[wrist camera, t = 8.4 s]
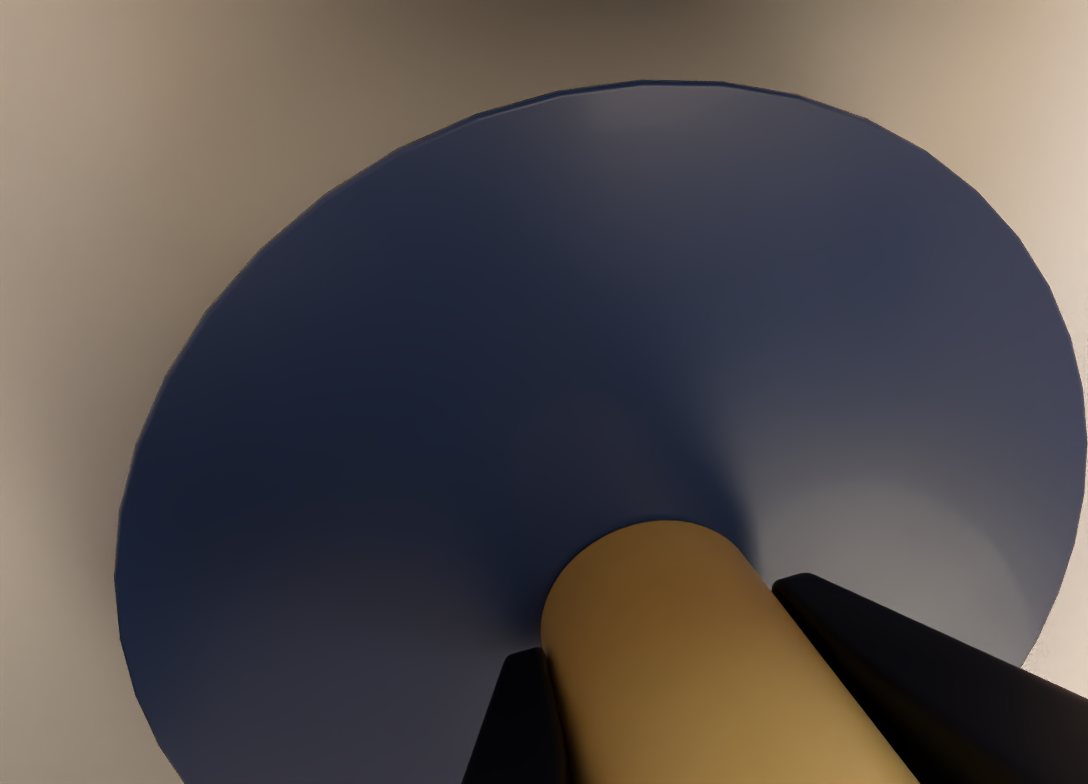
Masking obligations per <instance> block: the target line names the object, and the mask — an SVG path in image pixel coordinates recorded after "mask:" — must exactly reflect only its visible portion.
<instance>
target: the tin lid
mask: <svg viewBox="0 0 1088 784" xmlns="http://www.w3.org/2000/svg"><path fill="white" fill-rule="evenodd" d="M1086 455H1087V432H1086V420H1085V408H1084V396H1083V388H1082V383H1081V379H1080V375H1079V371H1078V367H1077V362H1076V358H1075V354H1074V350H1073V345H1072V341H1071V337H1070V335H1069V332H1068V330H1067V328H1066V325H1065V323H1064V320H1063V318H1062V315H1061V313H1060V311H1059V308H1058V306H1057V303H1056V301H1055V299H1054V296H1053V294H1052V291H1051V289H1050V287H1049V285H1048V283H1047V282H1046V280H1045V278H1044V277H1043V275H1042V274H1041V272H1040V270H1039V269H1038V267H1037V266H1036V264H1035V262H1034V261H1033V259H1032V258H1031V256H1030V255H1029V253H1028V251H1027V250H1026V248H1025V247H1024V245H1023V243H1022V242H1021V240H1020V239H1019V237H1018V236H1017V235H1016V234H1015V233H1014V231H1013V230H1012V229H1011V228H1010V227H1009V226H1008V225H1007V224H1006V223H1005V221H1004V220H1003V219H1002V218H1001V217H1000V216H999V215H998V214H997V213H996V211H995V210H994V209H993V208H992V207H991V206H990V205H989V204H988V203H987V201H986V200H985V199H984V198H983V197H982V196H981V195H980V194H979V192H977V191H976V190H975V189H974V188H972V187H971V186H970V185H969V184H967V183H966V182H965V181H964V180H962V179H961V178H960V177H959V176H957V175H956V174H955V173H953V172H952V171H951V170H950V169H948V168H947V167H946V166H945V165H943V164H942V163H941V162H939V161H938V160H937V159H936V158H934V157H933V156H932V155H931V154H929V153H928V152H927V151H925V150H924V149H922V148H920V147H918V146H916V145H914V144H913V143H911V142H909V141H907V140H905V139H903V138H902V137H900V136H898V135H896V134H894V133H892V132H891V131H889V130H887V129H885V128H883V127H881V126H879V125H878V124H876V123H874V122H872V121H870V120H868V119H867V118H864V117H861V116H858V115H855V114H853V113H850V112H847V111H844V110H841V109H838V108H835V107H832V106H829V105H827V104H824V103H821V102H818V101H815V100H812V99H809V98H806V97H803V96H800V95H798V94H792V93H786V92H781V91H775V90H769V89H763V88H758V87H752V86H746V85H740V84H735V83H729V82H723V81H681V80H636V81H628V82H620V83H613V84H605V85H597V86H590V87H582V88H574V89H567V90H559V91H555V92H552V93H548V94H545V95H541V96H538V97H534V98H530V99H527V100H523V101H520V102H516V103H513V104H509V105H506V106H502V107H499V108H495V109H491V110H488V111H484V112H481V113H477V114H475V115H472V116H470V117H468V118H466V119H463V120H461V121H459V122H457V123H454V124H452V125H450V126H448V127H445V128H443V129H441V130H439V131H436V132H434V133H432V134H430V135H427V136H425V137H423V138H421V139H418V140H416V141H414V142H412V143H409V144H407V145H405V146H403V147H400V148H398V149H396V150H395V151H393V152H391V153H390V154H388V155H387V156H385V157H383V158H382V159H380V160H379V161H377V162H375V163H374V164H372V165H371V166H369V167H367V168H366V169H364V170H363V171H361V172H359V173H358V174H356V175H355V176H353V177H352V178H350V179H348V180H347V181H345V182H344V183H342V184H340V185H339V186H337V187H336V188H334V189H332V190H331V191H329V192H328V193H326V194H324V195H323V196H322V197H321V198H320V199H318V200H317V201H316V202H315V203H314V204H313V205H311V206H310V207H309V208H308V209H307V210H306V211H304V212H303V213H302V214H301V215H300V216H298V217H297V218H296V219H295V220H294V221H293V222H291V223H290V224H289V225H288V226H287V227H286V228H284V229H283V230H282V231H281V232H280V233H278V234H277V235H276V236H275V237H274V238H273V239H271V240H270V241H269V242H268V243H267V244H266V245H264V246H263V247H262V248H261V249H260V250H259V251H258V252H257V253H256V254H255V255H254V257H253V258H252V259H251V260H250V261H249V262H248V264H247V265H246V266H245V267H244V268H243V269H242V270H241V272H240V273H239V274H238V275H237V276H236V277H235V278H234V280H233V281H232V282H231V283H230V284H229V285H228V286H227V288H226V289H225V290H224V291H223V292H222V293H221V294H220V296H219V297H218V298H217V299H216V300H215V301H214V302H213V304H212V305H211V306H210V307H209V308H208V309H207V310H206V312H205V314H204V315H203V317H202V318H201V320H200V321H199V323H198V325H197V326H196V328H195V329H194V331H193V332H192V334H191V336H190V337H189V339H188V340H187V342H186V343H185V345H184V347H183V348H182V350H181V351H180V353H179V354H178V356H177V358H176V359H175V361H174V362H173V364H172V365H171V367H170V369H169V370H168V372H167V373H166V375H165V377H164V379H163V381H162V384H161V386H160V388H159V391H158V393H157V395H156V398H155V400H154V402H153V405H152V407H151V409H150V411H149V414H148V416H147V418H146V421H145V423H144V425H143V428H142V430H141V432H140V435H139V437H138V439H137V442H136V444H135V448H134V452H133V456H132V460H131V464H130V468H129V472H128V476H127V480H126V484H125V488H124V492H123V496H122V500H121V504H120V508H119V518H118V531H117V544H116V557H115V570H114V582H115V592H116V603H117V613H118V624H119V634H120V641H121V645H122V648H123V652H124V656H125V659H126V663H127V667H128V670H129V674H130V678H131V681H132V685H133V689H134V692H135V696H136V698H137V700H138V702H139V704H140V706H141V709H142V711H143V713H144V715H145V717H146V719H147V721H148V724H149V726H150V728H151V730H152V732H153V734H154V737H155V739H156V741H157V743H158V745H159V747H160V748H161V750H162V751H163V753H164V754H165V756H166V757H167V759H168V760H169V762H170V763H171V765H172V766H173V767H174V769H175V770H176V772H177V773H178V775H179V776H180V778H181V779H182V781H183V782H184V784H461V783H462V780H463V777H464V774H465V771H466V768H467V765H468V763H469V760H470V757H471V754H472V751H473V748H474V745H475V743H476V740H477V737H478V734H479V731H480V728H481V725H482V723H483V720H484V717H485V714H486V711H487V708H488V705H489V703H490V700H491V697H492V694H493V691H494V688H495V685H496V683H497V680H498V677H499V674H500V671H501V668H502V665H503V663H504V660H505V659H506V657H507V656H508V655H510V654H513V653H516V652H520V651H524V650H527V649H531V648H534V647H541V648H542V649H543V650H544V652H545V655H546V659H547V662H548V667H549V671H550V676H551V680H552V685H553V689H554V694H555V698H556V703H557V708H558V712H559V717H560V721H561V726H562V730H563V735H564V739H565V744H566V748H567V753H568V757H569V762H570V767H571V772H572V777H573V783H574V784H920V783H919V781H918V780H917V779H916V778H915V776H914V775H913V774H912V772H911V771H910V770H909V769H908V767H907V766H906V765H905V763H904V762H903V761H902V760H901V758H900V757H899V756H898V754H897V753H896V752H895V750H894V749H893V748H892V747H891V745H890V744H889V743H888V741H887V740H886V739H885V738H884V736H883V735H882V734H881V732H880V731H879V730H878V729H877V727H876V726H875V725H874V723H873V722H872V721H871V719H870V718H869V717H868V716H867V714H866V713H865V712H864V710H863V709H862V708H861V707H860V705H859V704H858V703H857V701H856V700H855V699H854V698H853V696H852V695H851V694H850V692H849V691H848V690H847V688H846V687H845V686H844V685H843V683H842V682H841V681H840V679H839V678H838V677H837V676H836V674H835V673H834V672H833V670H832V669H831V668H830V666H829V665H828V664H827V663H826V661H825V660H824V659H823V657H822V656H821V655H820V654H819V652H818V651H817V650H816V648H815V647H814V646H813V645H812V643H811V642H810V641H809V639H808V638H807V637H806V635H805V634H804V633H803V632H802V630H801V629H800V628H799V626H798V625H797V624H796V623H795V621H794V620H793V619H792V617H791V616H790V615H789V614H788V612H787V611H786V610H785V608H784V607H783V606H782V604H781V603H780V602H779V601H778V599H777V598H776V597H775V595H774V594H773V593H772V592H771V589H772V585H773V583H774V582H775V581H776V580H778V579H782V578H785V577H789V576H792V575H796V574H800V573H806V572H807V573H811V574H814V575H817V576H819V577H821V578H823V579H825V580H828V581H830V582H832V583H834V584H836V585H839V586H841V587H843V588H845V589H847V590H850V591H852V592H854V593H856V594H858V595H860V596H863V597H865V598H867V599H869V600H871V601H874V602H876V603H878V604H880V605H882V606H885V607H887V608H889V609H891V610H893V611H896V612H898V613H900V614H902V615H904V616H907V617H909V618H911V619H913V620H915V621H918V622H920V623H922V624H924V625H926V626H928V627H931V628H933V629H935V630H937V631H939V632H942V633H944V634H946V635H948V636H950V637H953V638H955V639H957V640H959V641H961V642H964V643H966V644H968V645H970V646H972V647H975V648H977V649H979V650H981V651H983V652H986V653H988V654H990V655H992V656H994V657H996V658H999V659H1001V660H1003V661H1005V662H1007V663H1010V664H1012V665H1014V666H1016V667H1018V668H1021V666H1022V664H1023V663H1024V661H1025V659H1026V658H1027V656H1028V654H1029V652H1030V651H1031V649H1032V647H1033V646H1034V644H1035V642H1036V641H1037V639H1038V637H1039V635H1040V633H1041V630H1042V628H1043V626H1044V624H1045V622H1046V619H1047V617H1048V615H1049V613H1050V611H1051V608H1052V606H1053V604H1054V602H1055V600H1056V597H1057V595H1058V593H1059V590H1060V587H1061V584H1062V581H1063V578H1064V575H1065V572H1066V569H1067V565H1068V562H1069V559H1070V556H1071V553H1072V550H1073V547H1074V544H1075V539H1076V533H1077V528H1078V523H1079V518H1080V513H1081V508H1082V503H1083V497H1084V489H1085V472H1086Z"/></svg>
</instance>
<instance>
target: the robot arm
mask: <svg viewBox="0 0 1088 784" xmlns="http://www.w3.org/2000/svg"><path fill="white" fill-rule="evenodd" d="M771 592H772V593H773V594H774V595H775V597H776V598H777V599H778V601H779V602H780V603H781V604H782V606H783V607H784V608H785V610H786V611H787V612H788V614H789V615H790V616H791V617H792V619H793V620H794V621H795V623H796V624H797V625H798V626H799V628H800V629H801V630H802V632H803V633H804V634H805V635H806V637H807V638H808V639H809V641H810V642H811V643H812V645H813V646H814V647H815V648H816V650H817V651H818V652H819V654H820V655H821V656H822V657H823V659H824V660H825V661H826V663H827V664H828V665H829V666H830V668H831V669H832V670H833V672H834V673H835V674H836V676H837V677H838V678H839V679H840V681H841V682H842V683H843V685H844V686H845V687H846V688H847V690H848V691H849V692H850V694H851V695H852V696H853V698H854V699H855V700H856V701H857V703H858V704H859V705H860V707H861V708H862V709H863V710H864V712H865V713H866V714H867V716H868V717H869V718H870V719H871V721H872V722H873V723H874V725H875V726H876V727H877V729H878V730H879V731H880V732H881V734H882V735H883V736H884V738H885V739H886V740H887V741H888V743H889V744H890V745H891V747H892V748H893V749H894V750H895V752H896V753H897V754H898V756H899V757H900V758H901V760H902V761H903V762H904V763H905V765H906V766H907V767H908V769H909V770H910V771H911V772H912V774H913V775H914V776H915V778H916V779H917V780H918V781H919V783H920V784H1088V699H1086V698H1084V697H1082V696H1080V695H1078V694H1075V693H1073V692H1071V691H1069V690H1067V689H1064V688H1062V687H1060V686H1058V685H1056V684H1053V683H1051V682H1049V681H1047V680H1045V679H1043V678H1040V677H1038V676H1036V675H1034V674H1032V673H1029V672H1027V671H1025V670H1023V669H1021V668H1018V667H1016V666H1014V665H1012V664H1010V663H1007V662H1005V661H1003V660H1001V659H999V658H996V657H994V656H992V655H990V654H988V653H986V652H983V651H981V650H979V649H977V648H975V647H972V646H970V645H968V644H966V643H964V642H961V641H959V640H957V639H955V638H953V637H950V636H948V635H946V634H944V633H942V632H939V631H937V630H935V629H933V628H931V627H928V626H926V625H924V624H922V623H920V622H918V621H915V620H913V619H911V618H909V617H907V616H904V615H902V614H900V613H898V612H896V611H893V610H891V609H889V608H887V607H885V606H882V605H880V604H878V603H876V602H874V601H871V600H869V599H867V598H865V597H863V596H860V595H858V594H856V593H854V592H852V591H850V590H847V589H845V588H843V587H841V586H839V585H836V584H834V583H832V582H830V581H828V580H825V579H823V578H821V577H819V576H817V575H814V574H811V573H807V572H806V573H800V574H796V575H792V576H789V577H785V578H782V579H778V580H776V581H775V582H774V583H773V585H772V589H771ZM461 784H574V783H573V777H572V772H571V767H570V762H569V757H568V753H567V748H566V744H565V739H564V735H563V730H562V726H561V721H560V717H559V712H558V708H557V703H556V698H555V694H554V689H553V685H552V680H551V676H550V671H549V667H548V662H547V659H546V655H545V652H544V650H543V649H542V648H541V647H534V648H531V649H527V650H524V651H520V652H516V653H513V654H510V655H508V656H507V657H506V659H505V660H504V663H503V665H502V668H501V671H500V674H499V677H498V680H497V683H496V685H495V688H494V691H493V694H492V697H491V700H490V703H489V705H488V708H487V711H486V714H485V717H484V720H483V723H482V725H481V728H480V731H479V734H478V737H477V740H476V743H475V745H474V748H473V751H472V754H471V757H470V760H469V763H468V765H467V768H466V771H465V774H464V777H463V780H462V783H461Z"/></svg>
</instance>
